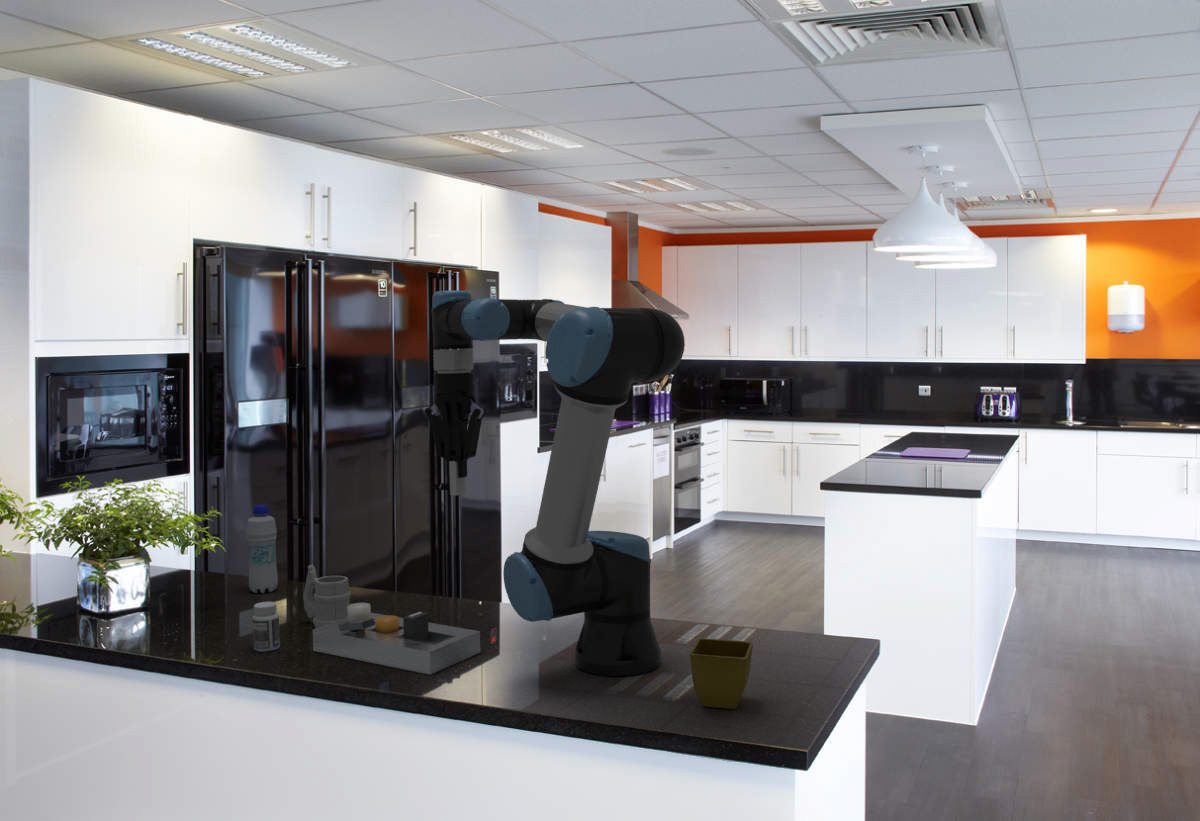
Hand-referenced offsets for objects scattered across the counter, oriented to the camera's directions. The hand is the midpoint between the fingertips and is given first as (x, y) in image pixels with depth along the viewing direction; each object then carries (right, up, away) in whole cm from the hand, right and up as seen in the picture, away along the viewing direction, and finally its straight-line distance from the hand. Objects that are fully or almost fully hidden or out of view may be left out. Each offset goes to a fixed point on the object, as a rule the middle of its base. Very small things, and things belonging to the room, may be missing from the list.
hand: (457, 494), depth 201 cm
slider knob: (-6, -26, -12) cm, 29 cm away
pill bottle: (-35, -29, -6) cm, 45 cm away
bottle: (-50, -25, +38) cm, 67 cm away
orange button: (-12, -25, -8) cm, 29 cm away
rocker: (-17, -23, -11) cm, 31 cm away
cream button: (-18, -24, -5) cm, 30 cm away
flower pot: (+47, -30, -38) cm, 67 cm away
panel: (-10, -28, -9) cm, 31 cm away
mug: (-28, -27, +8) cm, 40 cm away
